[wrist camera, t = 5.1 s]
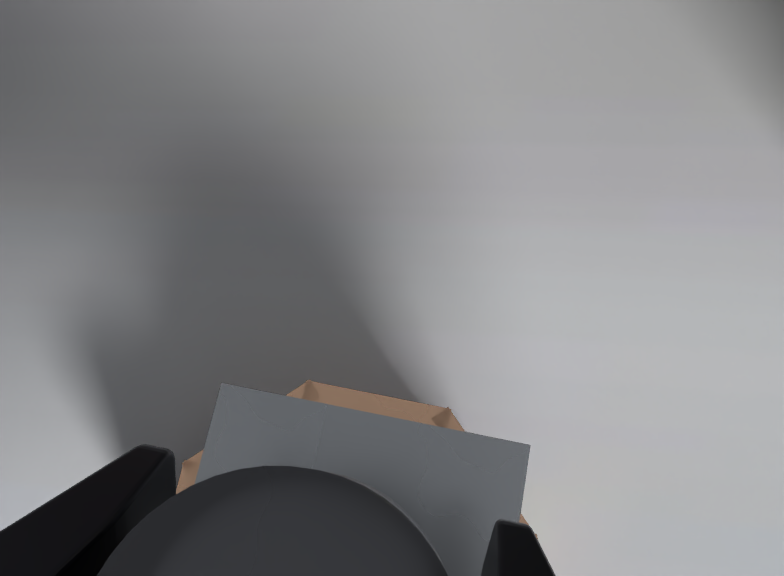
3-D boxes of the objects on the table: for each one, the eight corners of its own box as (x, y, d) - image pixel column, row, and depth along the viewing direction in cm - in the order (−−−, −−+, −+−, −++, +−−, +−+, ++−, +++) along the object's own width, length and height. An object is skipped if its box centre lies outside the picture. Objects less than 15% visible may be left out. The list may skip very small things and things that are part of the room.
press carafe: (469, 728, 17) (498, 846, 11) (114, 645, 18) (-21, 718, 12) (512, 444, 19) (556, 426, 13) (188, 378, 20) (100, 335, 14)
